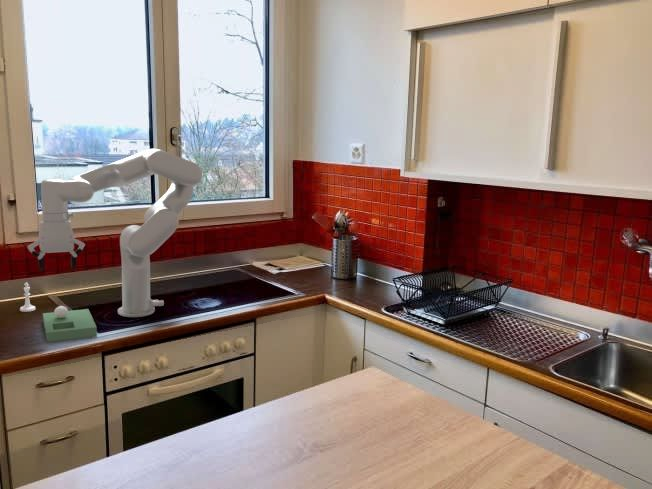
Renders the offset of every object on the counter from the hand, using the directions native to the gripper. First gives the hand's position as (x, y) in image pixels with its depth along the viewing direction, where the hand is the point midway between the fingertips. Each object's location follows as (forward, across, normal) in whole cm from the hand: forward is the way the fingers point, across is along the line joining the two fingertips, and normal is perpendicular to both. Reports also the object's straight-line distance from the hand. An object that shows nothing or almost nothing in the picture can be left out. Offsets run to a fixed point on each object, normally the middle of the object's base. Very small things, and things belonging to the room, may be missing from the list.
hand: (58, 269), depth 182 cm
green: (+18, -2, +9) cm, 20 cm away
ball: (+13, 0, +6) cm, 14 cm away
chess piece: (+18, +9, -17) cm, 26 cm away
